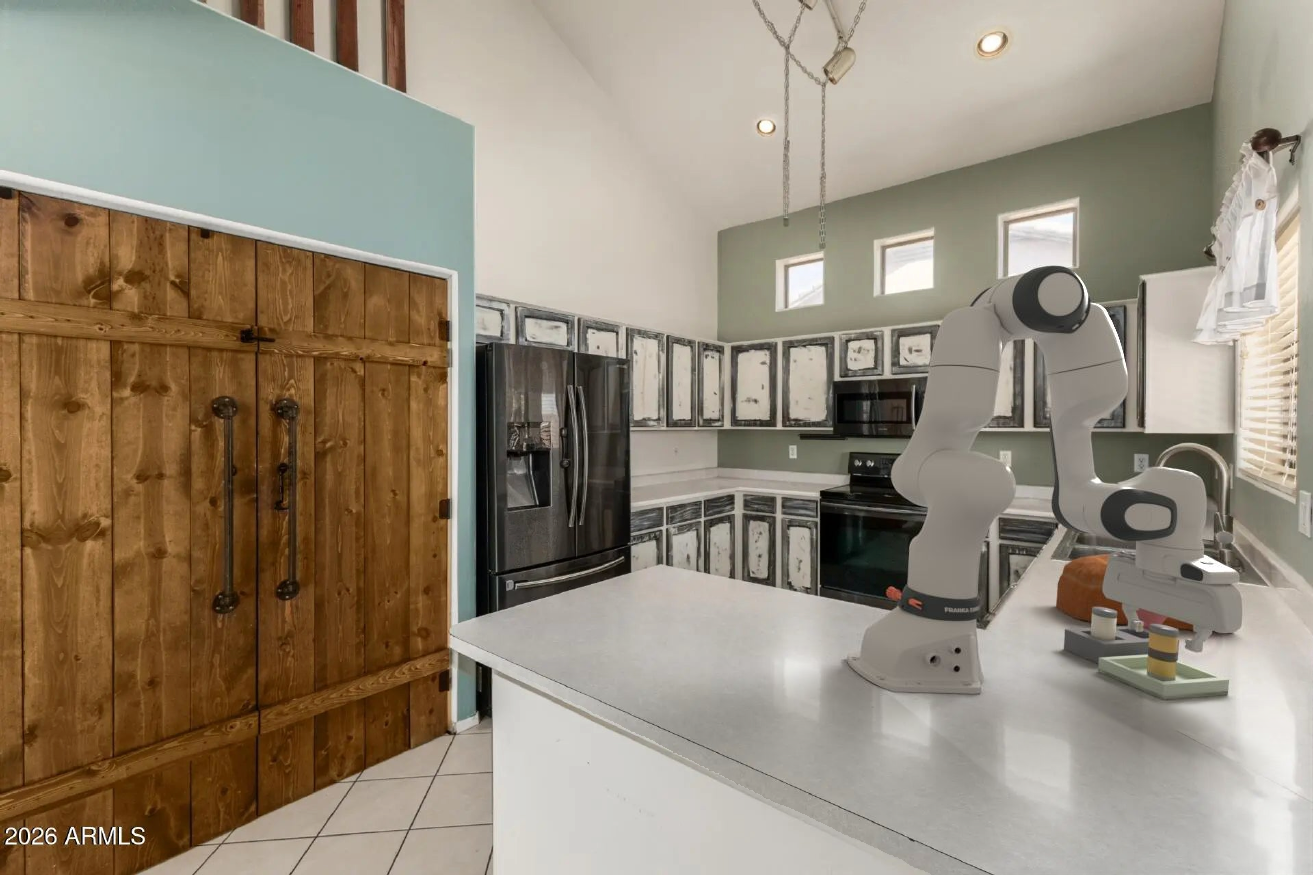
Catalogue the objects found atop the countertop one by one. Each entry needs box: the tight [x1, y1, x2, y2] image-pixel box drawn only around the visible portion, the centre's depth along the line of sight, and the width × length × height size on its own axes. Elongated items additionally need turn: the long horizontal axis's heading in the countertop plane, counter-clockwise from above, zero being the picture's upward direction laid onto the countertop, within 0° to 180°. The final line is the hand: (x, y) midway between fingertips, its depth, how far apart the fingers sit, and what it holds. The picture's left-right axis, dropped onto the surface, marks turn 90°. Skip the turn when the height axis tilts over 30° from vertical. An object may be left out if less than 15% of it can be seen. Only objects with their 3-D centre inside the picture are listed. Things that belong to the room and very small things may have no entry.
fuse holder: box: [1063, 625, 1180, 665], centre depth 114 cm, size 18×8×4 cm, turn 103°
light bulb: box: [1136, 608, 1167, 630], centre depth 123 cm, size 7×7×12 cm
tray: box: [1097, 654, 1230, 701], centre depth 102 cm, size 14×11×2 cm
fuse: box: [1090, 607, 1117, 641], centre depth 113 cm, size 4×4×9 cm
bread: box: [1055, 552, 1193, 631], centre depth 138 cm, size 14×33×16 cm, turn 82°
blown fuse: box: [1147, 624, 1180, 682], centre depth 102 cm, size 4×4×9 cm
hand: (1163, 640), depth 102 cm, fingers open, 8 cm apart
